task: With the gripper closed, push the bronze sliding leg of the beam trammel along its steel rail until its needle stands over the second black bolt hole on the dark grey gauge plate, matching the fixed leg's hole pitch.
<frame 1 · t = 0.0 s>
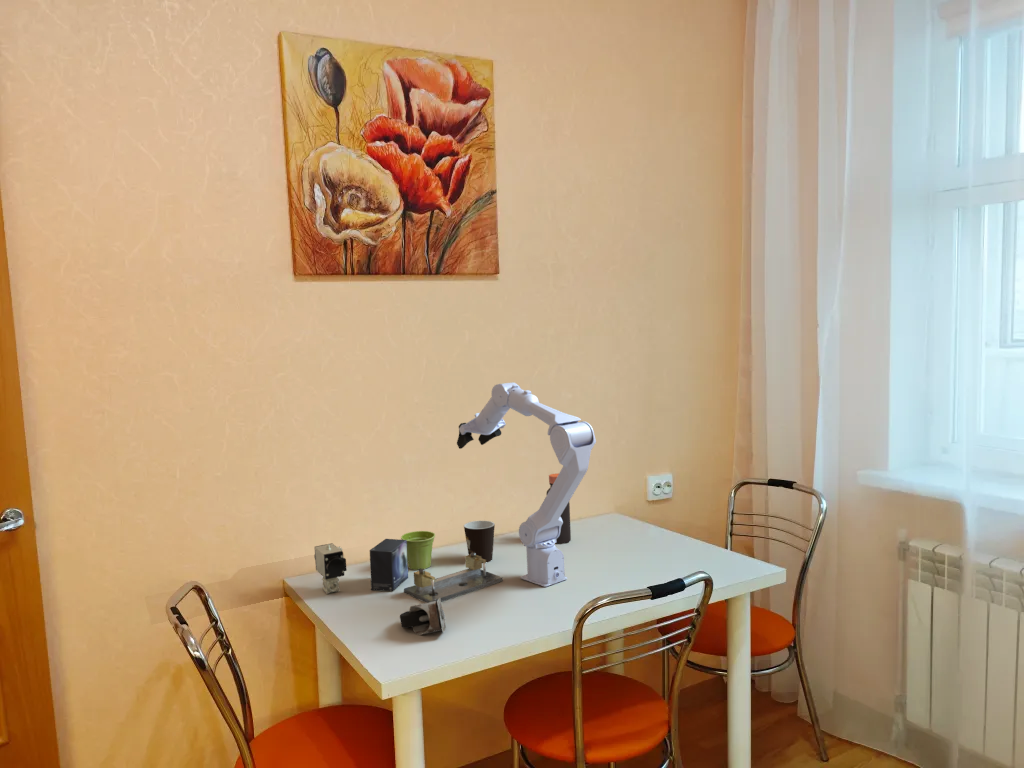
hand: (469, 443, 208), 32 cm above the table, tool tilted 50°, fingers open, 7 cm apart
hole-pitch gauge: (454, 586, 187), on the table
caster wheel: (422, 630, 162), on the table
small box: (390, 585, 191), on the table
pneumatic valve: (332, 591, 188), on the table
plant pot: (419, 567, 204), on the table
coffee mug: (481, 558, 209), on the table
bottle: (559, 541, 222), on the table
sliding leg: (477, 563, 192), point 4 cm above the table, slide at 0.0 cm
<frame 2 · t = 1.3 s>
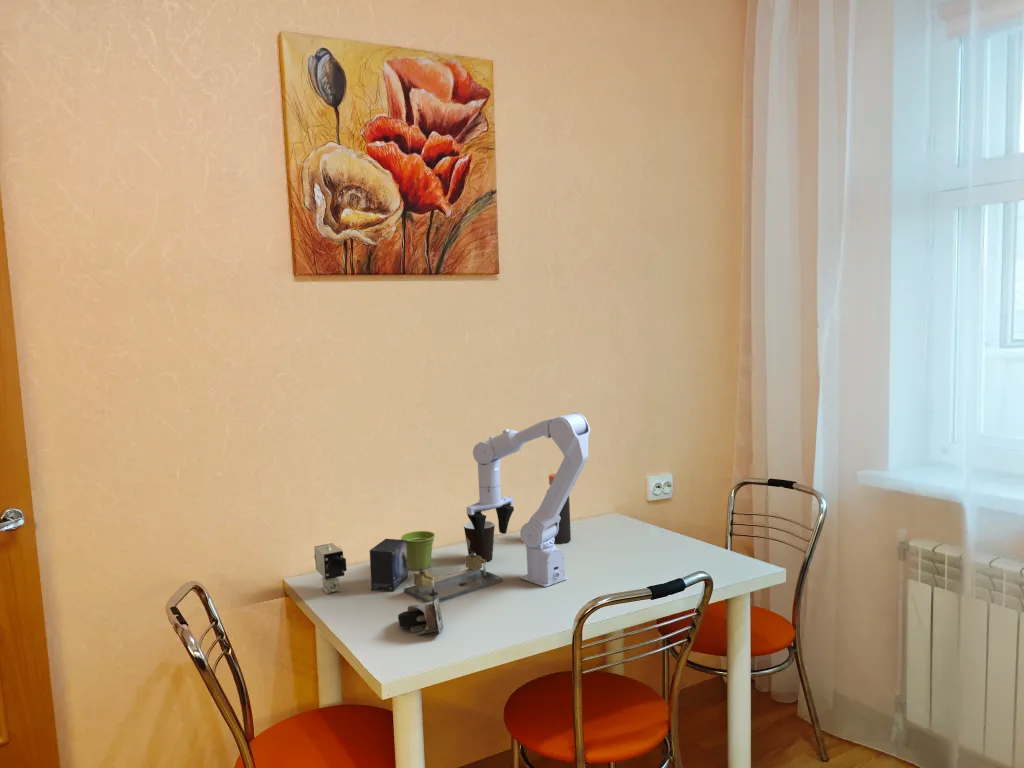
hand: (491, 536, 197), 9 cm above the table, tool pointing down, fingers open, 7 cm apart
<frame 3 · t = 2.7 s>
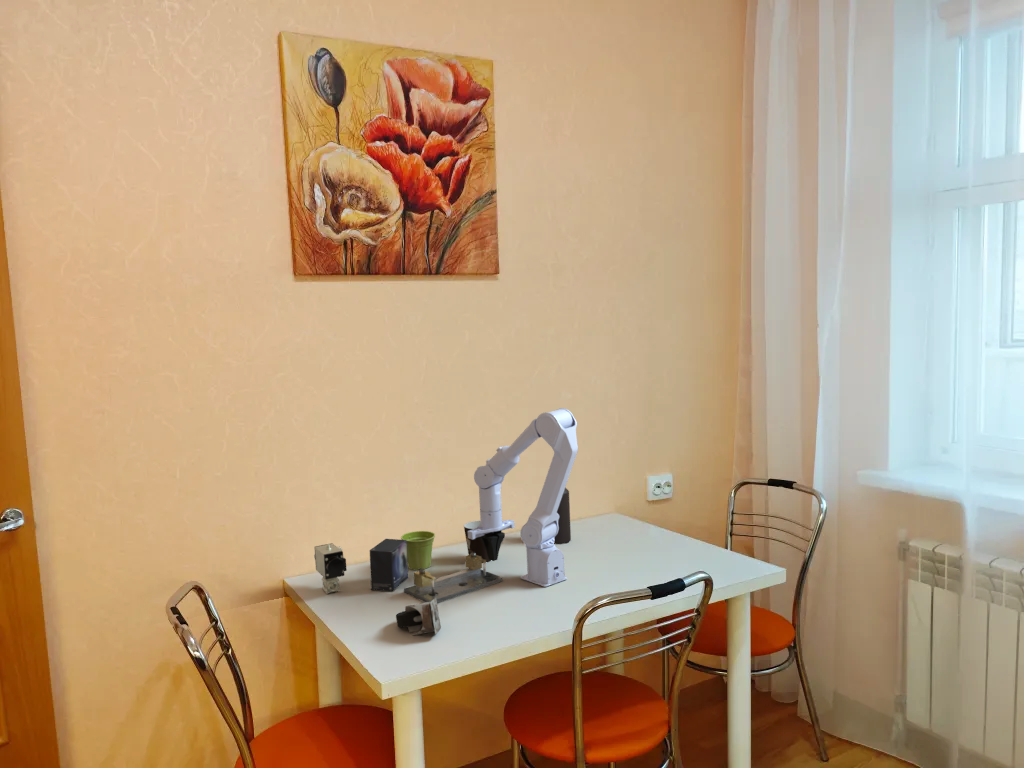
hand: (493, 559, 198), 3 cm above the table, tool pointing down, fingers closed
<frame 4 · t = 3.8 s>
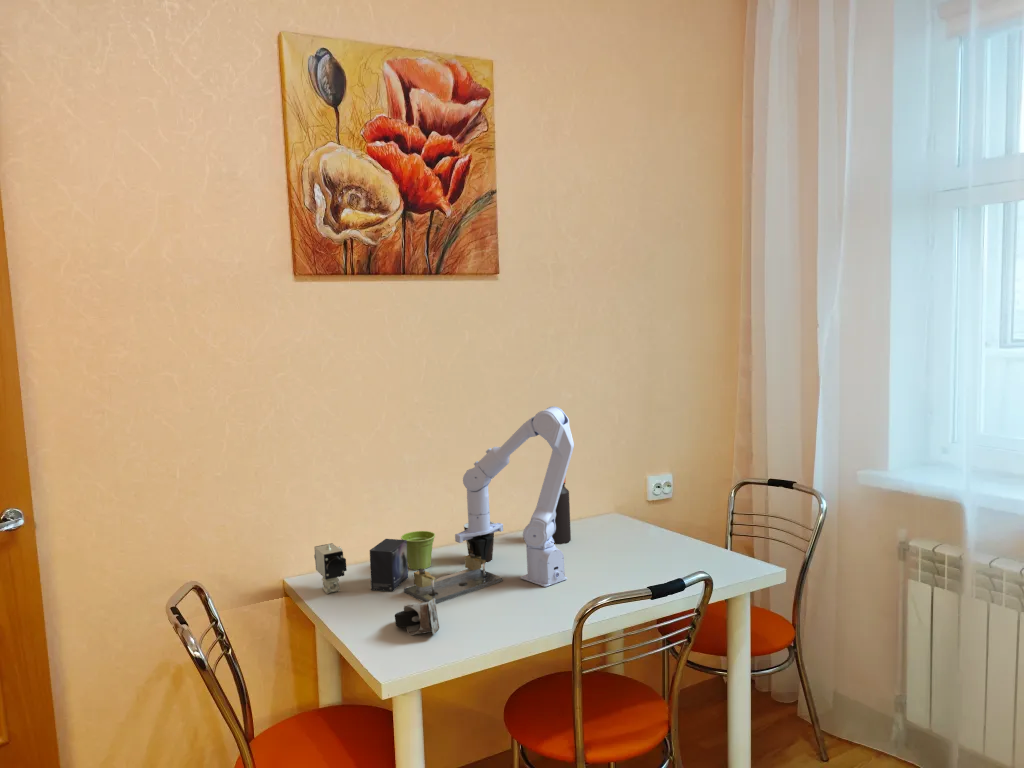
hand: (481, 563, 195), 3 cm above the table, tool pointing down, fingers closed
sliding leg: (476, 563, 192), point 4 cm above the table, slide at 0.2 cm, touching gripper
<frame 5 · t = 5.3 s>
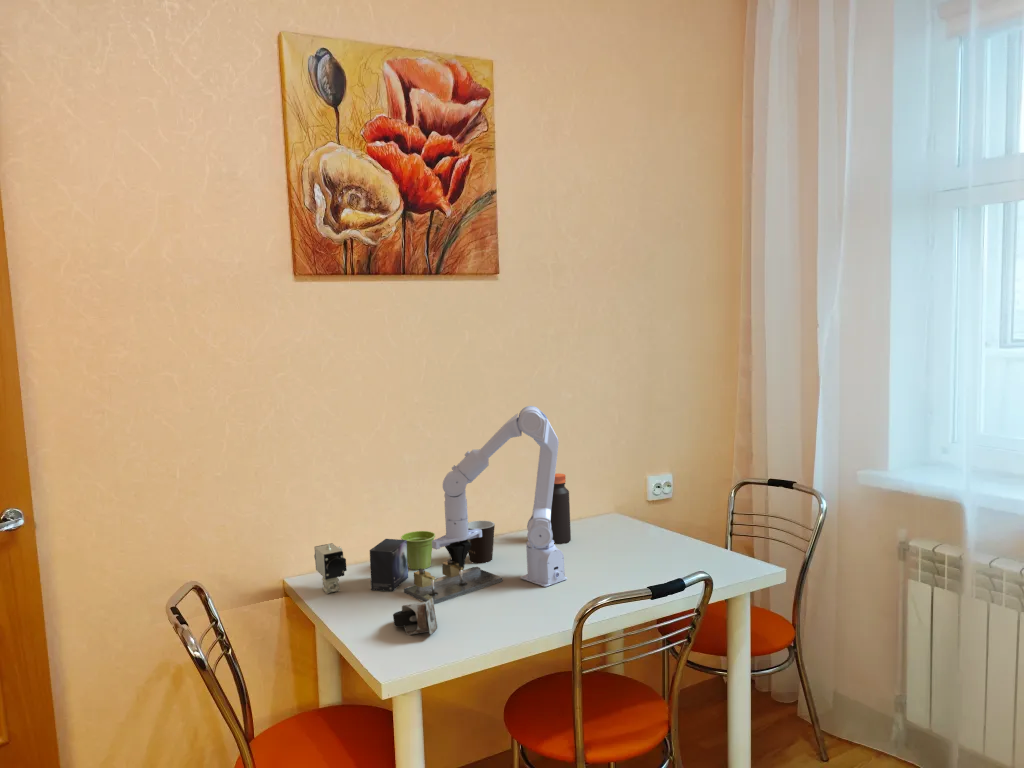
hand: (459, 570, 190), 3 cm above the table, tool pointing down, fingers closed
sliding leg: (454, 570, 187), point 4 cm above the table, slide at 7.4 cm, touching gripper
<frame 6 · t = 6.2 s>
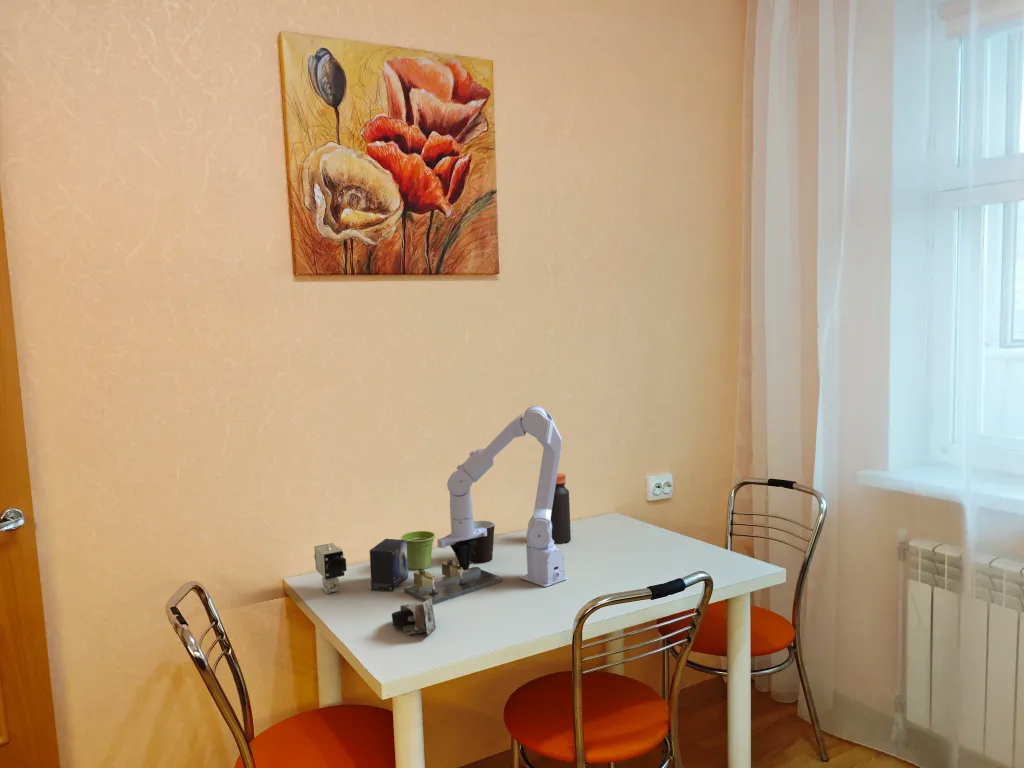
hand: (464, 568, 191), 3 cm above the table, tool pointing down, fingers closed
sliding leg: (453, 570, 187), point 4 cm above the table, slide at 7.6 cm
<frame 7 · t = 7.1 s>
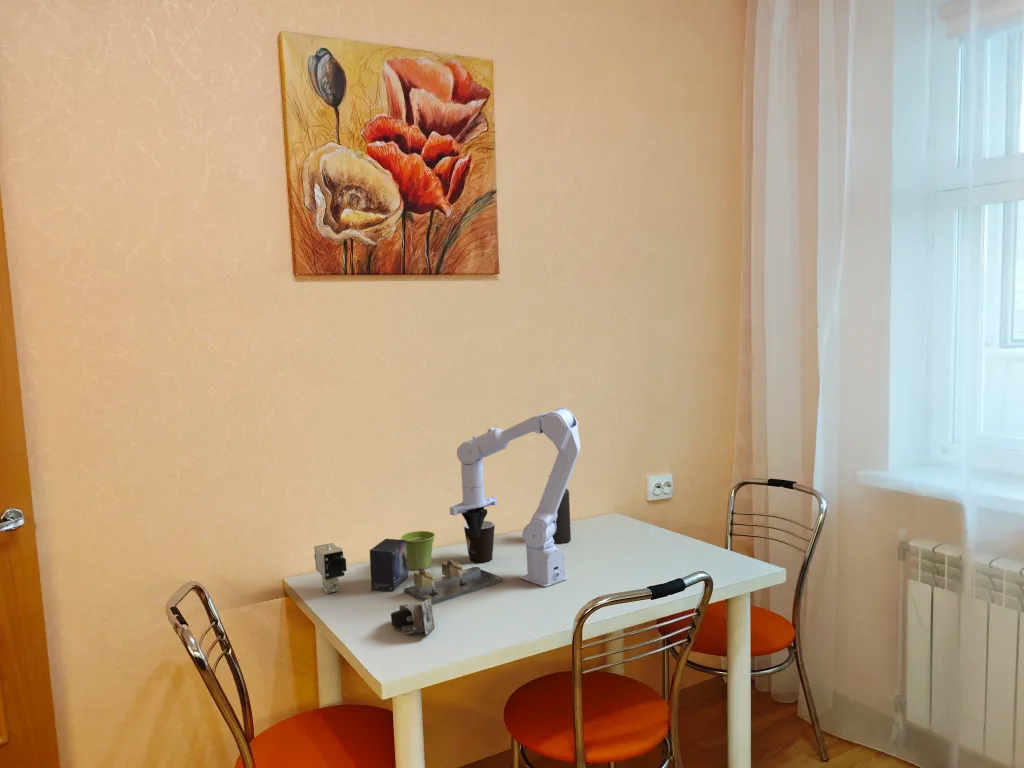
hand: (475, 536, 196), 10 cm above the table, tool pointing down, fingers closed
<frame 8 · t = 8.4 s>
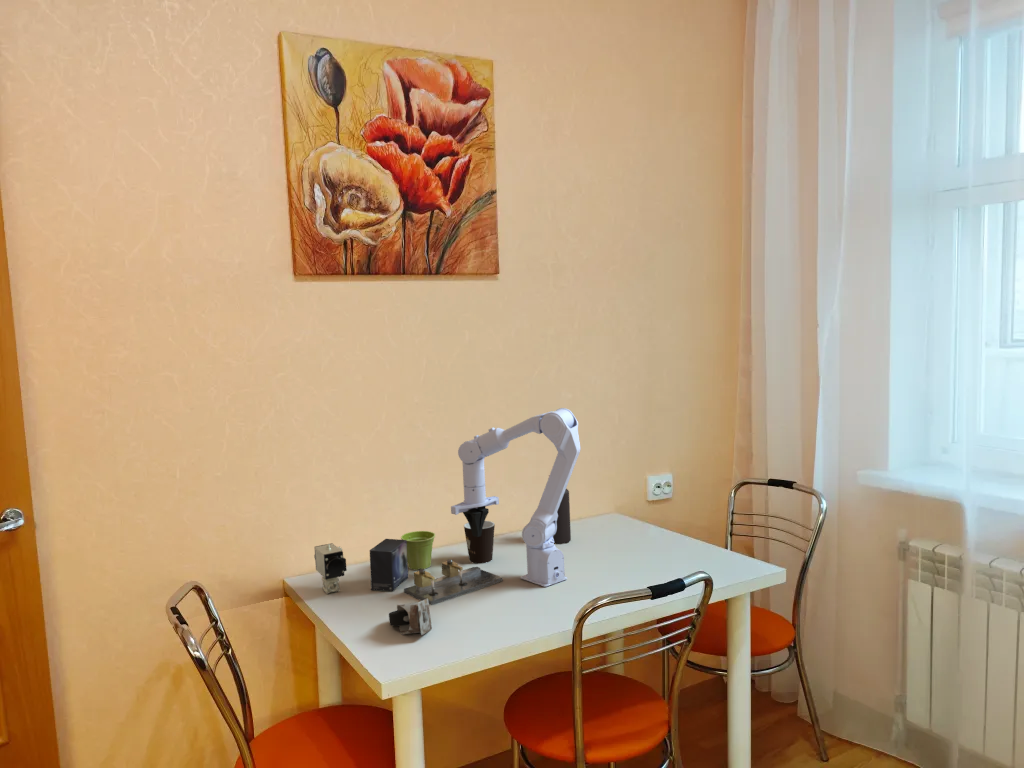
hand: (476, 535, 196), 10 cm above the table, tool pointing down, fingers closed
at the end: sliding leg slide at 7.6 cm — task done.
